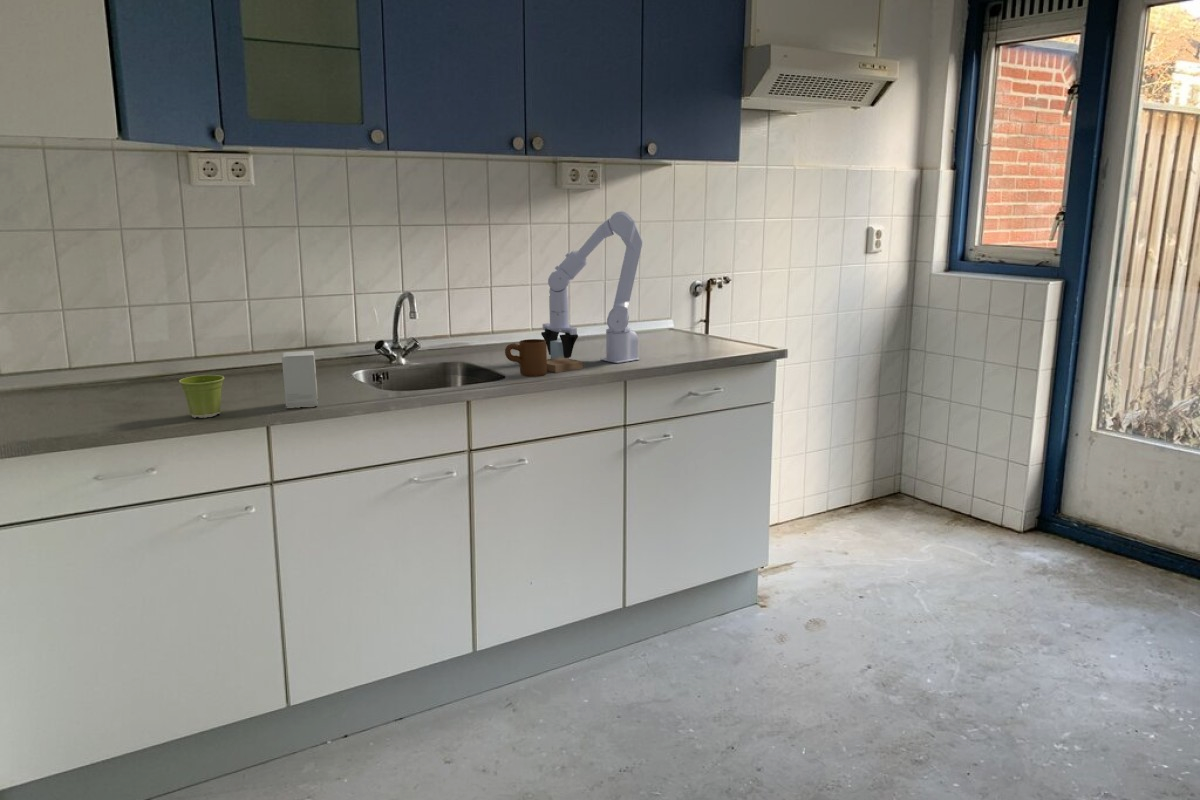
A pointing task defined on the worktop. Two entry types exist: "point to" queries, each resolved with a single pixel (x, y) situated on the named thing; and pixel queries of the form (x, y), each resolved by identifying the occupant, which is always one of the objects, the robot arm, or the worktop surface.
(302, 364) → the supplement box
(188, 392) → the plant pot
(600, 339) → the worktop surface
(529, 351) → the mug
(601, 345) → the worktop surface
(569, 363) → the base
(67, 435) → the worktop surface
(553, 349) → the block
